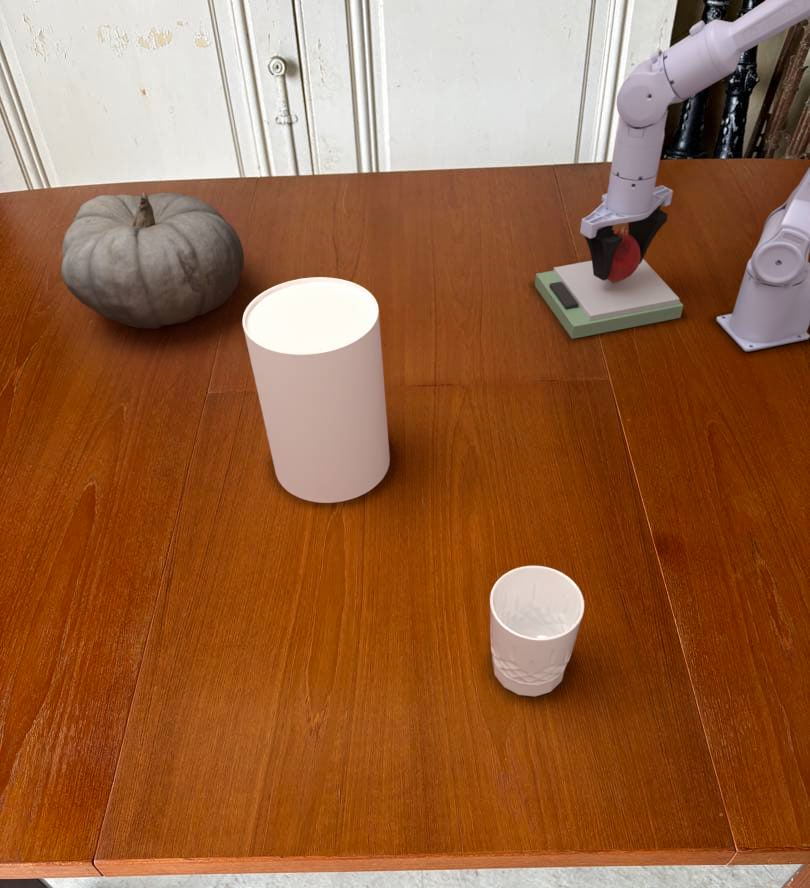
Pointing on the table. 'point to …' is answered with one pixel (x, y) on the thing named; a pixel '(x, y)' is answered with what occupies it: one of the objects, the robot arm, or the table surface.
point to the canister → (320, 386)
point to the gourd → (151, 258)
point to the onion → (625, 257)
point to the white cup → (533, 628)
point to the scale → (606, 299)
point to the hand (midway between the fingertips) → (617, 269)
